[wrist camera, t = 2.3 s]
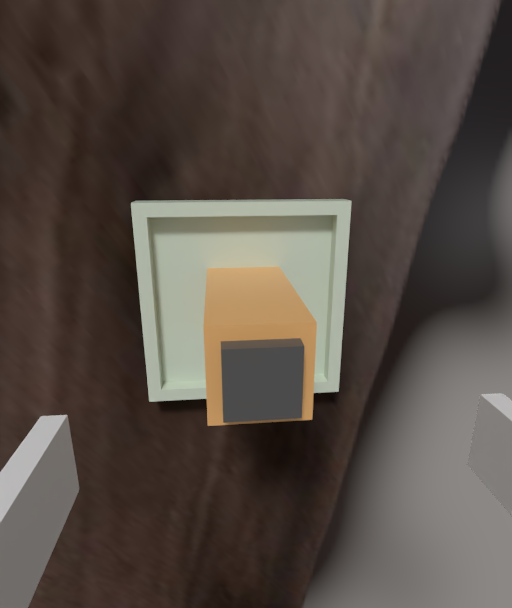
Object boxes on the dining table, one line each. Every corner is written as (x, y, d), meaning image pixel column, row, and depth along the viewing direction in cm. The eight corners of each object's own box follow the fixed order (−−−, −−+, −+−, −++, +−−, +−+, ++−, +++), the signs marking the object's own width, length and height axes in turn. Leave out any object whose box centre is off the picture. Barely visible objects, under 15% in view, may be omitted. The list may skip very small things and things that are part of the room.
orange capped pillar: (209, 335, 27) (207, 437, 17) (207, 268, 26) (202, 334, 15) (278, 332, 27) (316, 430, 17) (279, 266, 26) (321, 329, 16)
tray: (152, 389, 28) (149, 401, 27) (135, 200, 24) (130, 202, 23) (332, 380, 30) (338, 391, 28) (343, 198, 26) (351, 200, 24)
